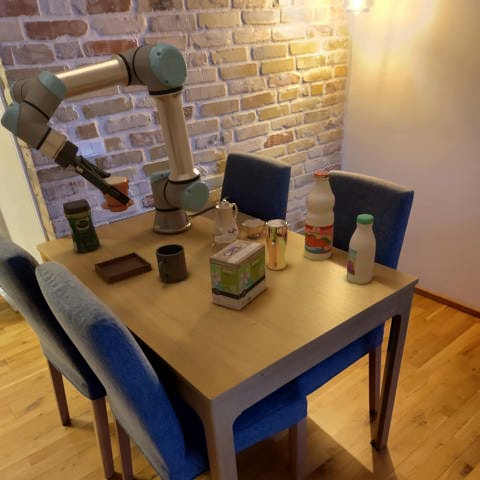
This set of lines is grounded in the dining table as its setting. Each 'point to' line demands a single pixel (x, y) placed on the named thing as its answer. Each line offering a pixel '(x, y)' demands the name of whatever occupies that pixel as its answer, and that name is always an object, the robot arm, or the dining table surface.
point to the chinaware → (231, 226)
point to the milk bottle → (361, 251)
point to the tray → (122, 267)
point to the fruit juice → (319, 218)
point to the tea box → (237, 273)
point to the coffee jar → (81, 225)
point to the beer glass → (276, 243)
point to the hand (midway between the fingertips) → (126, 197)
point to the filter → (112, 203)
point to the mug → (171, 263)
